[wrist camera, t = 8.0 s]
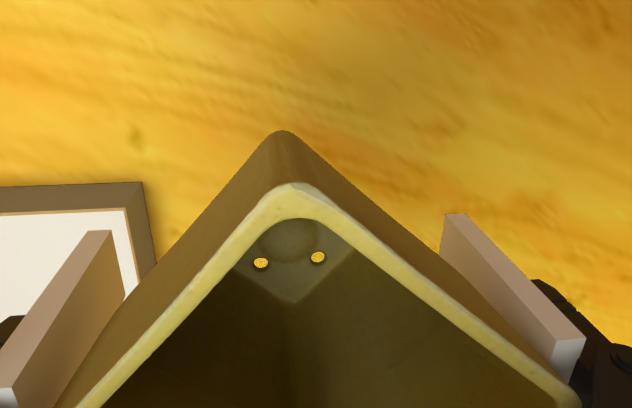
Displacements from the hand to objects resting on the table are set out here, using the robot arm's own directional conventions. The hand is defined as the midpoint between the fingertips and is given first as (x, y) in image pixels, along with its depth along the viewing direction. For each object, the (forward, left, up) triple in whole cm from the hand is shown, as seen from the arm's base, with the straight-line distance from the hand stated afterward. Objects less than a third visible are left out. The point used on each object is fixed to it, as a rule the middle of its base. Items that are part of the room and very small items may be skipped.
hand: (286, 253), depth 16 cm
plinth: (+11, -17, -18) cm, 27 cm away
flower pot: (0, 0, -2) cm, 2 cm away
